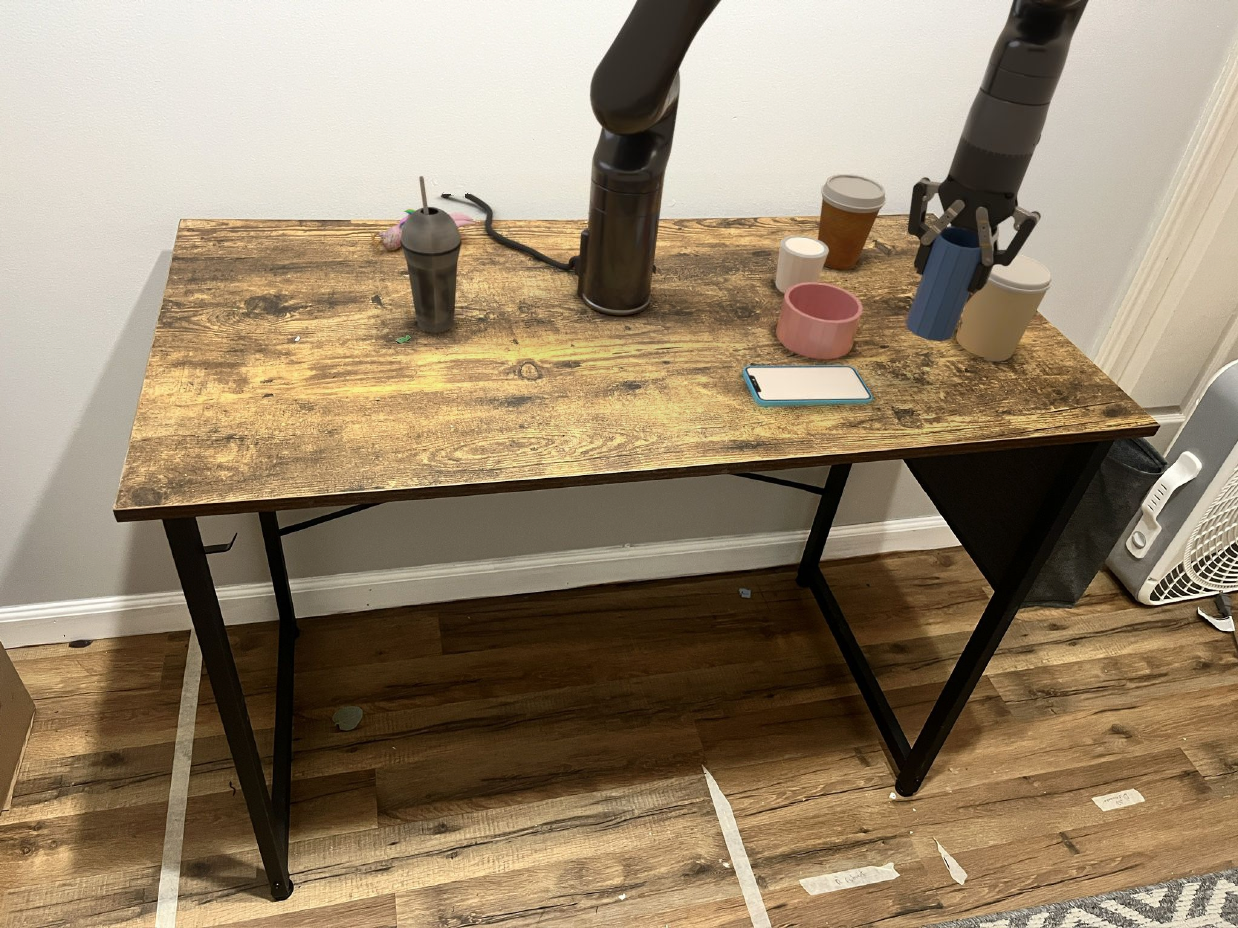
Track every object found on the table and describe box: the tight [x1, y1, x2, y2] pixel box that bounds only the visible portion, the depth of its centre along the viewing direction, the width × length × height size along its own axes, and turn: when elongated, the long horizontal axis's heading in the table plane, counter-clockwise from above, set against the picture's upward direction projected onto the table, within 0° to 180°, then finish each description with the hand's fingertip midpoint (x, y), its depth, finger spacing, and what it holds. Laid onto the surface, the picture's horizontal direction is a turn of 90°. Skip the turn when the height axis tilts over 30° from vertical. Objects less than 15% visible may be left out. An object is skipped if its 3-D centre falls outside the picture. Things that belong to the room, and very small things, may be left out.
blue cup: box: [905, 225, 982, 342], centre depth 104 cm, size 6×6×12 cm
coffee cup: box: [955, 253, 1053, 362], centre depth 118 cm, size 9×9×12 cm
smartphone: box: [742, 364, 874, 408], centre depth 110 cm, size 8×1×15 cm
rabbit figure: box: [370, 208, 476, 253], centre depth 129 cm, size 6×6×15 cm
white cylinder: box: [774, 234, 829, 294], centre depth 127 cm, size 7×7×7 cm
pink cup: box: [775, 281, 864, 360], centre depth 117 cm, size 10×10×6 cm
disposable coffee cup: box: [817, 173, 887, 271], centre depth 134 cm, size 10×10×12 cm
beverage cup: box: [400, 175, 463, 334], centre depth 108 cm, size 7×7×20 cm
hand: (947, 280), depth 104 cm, fingers closed on blue cup, 5 cm apart
